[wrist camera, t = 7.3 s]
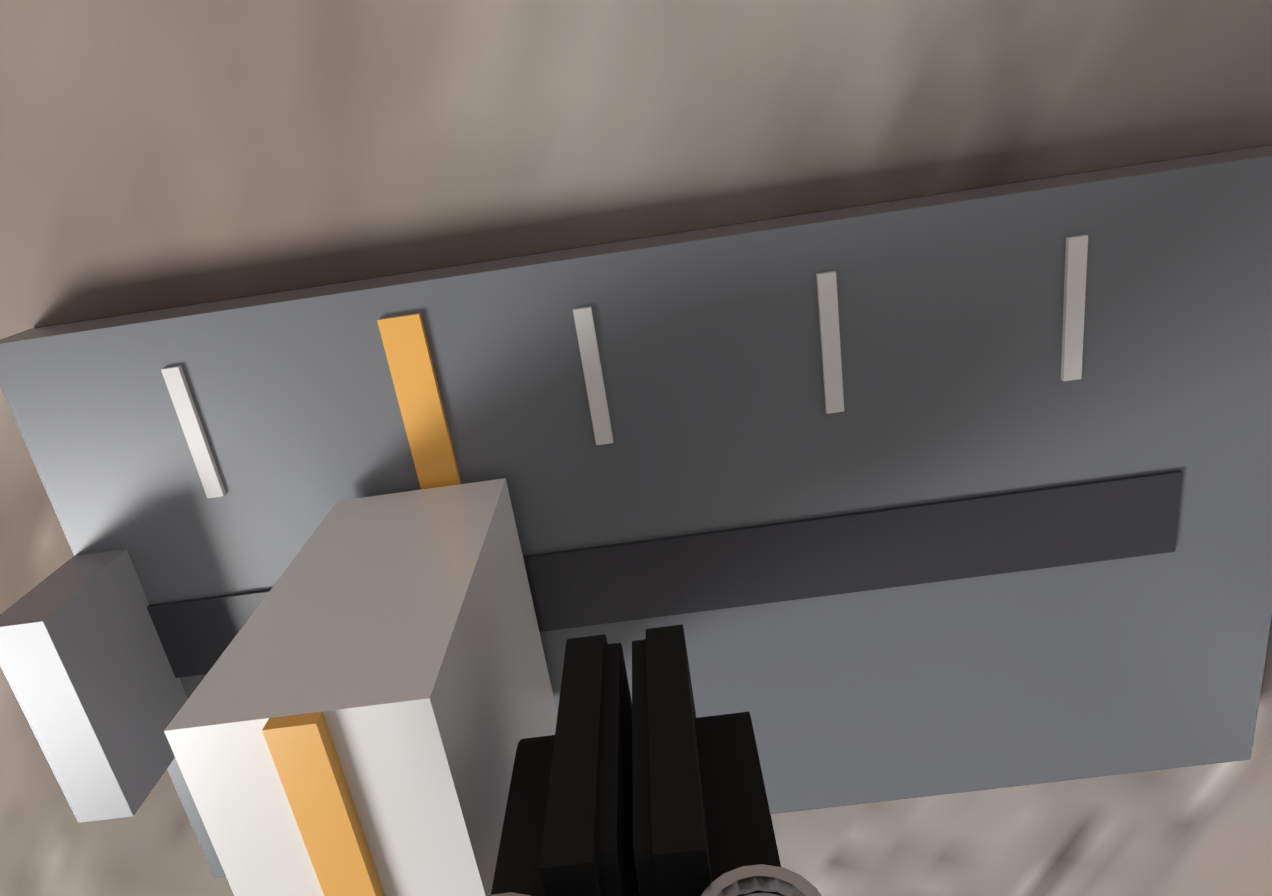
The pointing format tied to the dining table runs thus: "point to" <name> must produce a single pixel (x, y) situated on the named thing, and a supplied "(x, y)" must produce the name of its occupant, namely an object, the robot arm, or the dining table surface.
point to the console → (725, 477)
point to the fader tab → (374, 704)
